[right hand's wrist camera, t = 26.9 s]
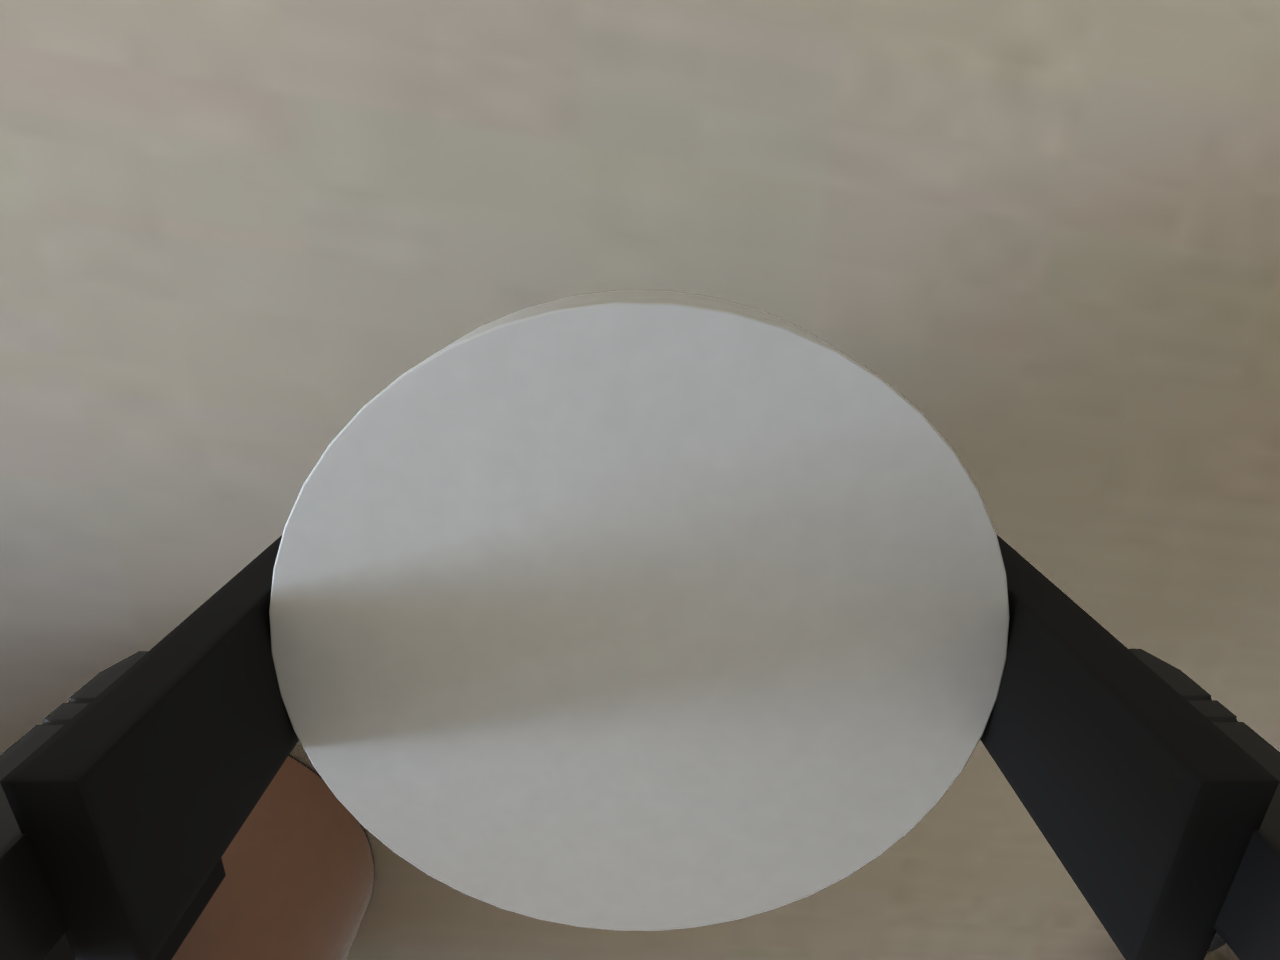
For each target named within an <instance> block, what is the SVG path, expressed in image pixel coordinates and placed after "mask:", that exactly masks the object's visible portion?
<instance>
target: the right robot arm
mask: <svg viewBox="0 0 1280 960" xmlns="http://www.w3.org/2000/svg"><path fill="white" fill-rule="evenodd" d="M281 538H282V536H281V537H279V538H278V539H277V540H276V541H275V542H274V543H273V544H271V545H270V546H269V547H268V548H267V549H266V550H265V551H263V552H262V553H261V554H260V555H259V556H258V557H257V558H255V559H254V560H253V561H252V562H251V563H250V564H248V565H247V566H246V567H245V568H244V569H243V570H242V571H240V572H239V573H238V574H237V575H236V576H235V577H234V578H232V579H231V580H230V581H229V582H228V583H227V584H226V585H224V586H223V587H222V588H221V589H220V590H219V591H218V592H216V593H215V594H214V595H213V596H212V597H211V598H209V599H208V600H207V601H206V602H205V603H204V604H203V605H201V606H200V607H199V608H198V609H197V610H196V611H195V612H193V613H192V614H191V615H190V616H189V617H188V618H187V619H185V620H184V621H183V622H182V623H181V624H180V625H179V626H177V627H176V628H175V629H174V630H173V631H172V632H171V633H169V634H168V635H167V636H166V637H165V638H164V639H162V640H161V641H160V642H159V643H158V644H157V645H156V646H154V647H153V648H152V649H151V650H150V651H139V652H137V653H136V654H134V655H132V656H130V657H128V658H126V659H124V660H123V661H121V662H119V663H117V664H115V665H113V666H112V667H110V668H108V669H106V670H104V671H102V672H100V673H99V674H98V675H97V676H95V677H94V678H93V679H92V680H91V681H89V682H88V683H87V684H86V685H85V686H83V687H82V688H81V689H80V690H79V691H77V692H76V693H75V694H74V695H73V696H71V697H70V698H69V699H70V700H69V703H63V704H62V705H61V706H59V707H58V708H57V709H56V710H55V711H53V712H52V713H51V714H50V715H49V716H47V717H46V718H45V719H44V723H43V725H37V726H35V727H34V728H33V729H32V730H31V731H29V732H28V733H27V734H26V735H25V736H23V737H22V738H21V739H20V740H19V741H17V742H16V743H15V744H14V745H13V746H11V747H10V748H9V749H8V750H7V751H5V752H4V753H3V754H2V755H1V756H0V960H43V959H44V958H45V957H46V956H47V954H48V953H49V952H50V951H51V949H52V948H53V947H54V946H55V944H56V943H57V942H58V941H59V940H60V938H61V937H62V936H63V935H64V934H65V936H66V939H67V941H68V943H69V946H70V948H71V950H72V953H73V955H74V957H75V960H154V959H155V957H156V956H157V954H158V953H159V951H160V950H161V948H162V946H163V945H164V943H165V942H166V940H167V939H168V937H169V936H170V934H171V933H172V931H173V930H174V928H175V927H176V925H177V924H178V922H179V921H180V919H181V918H182V916H183V915H184V913H185V912H186V910H187V909H188V907H189V906H190V904H191V903H192V901H193V899H194V898H195V896H196V895H197V893H198V892H199V890H200V889H201V887H202V886H203V884H204V883H205V881H206V880H207V878H208V877H209V875H210V874H211V872H212V871H213V869H214V868H215V866H216V865H217V863H218V862H219V860H220V859H221V857H222V856H223V854H224V853H225V851H226V849H227V848H228V846H229V845H230V843H231V842H232V840H233V839H234V837H235V836H236V834H237V833H238V831H239V830H240V828H241V827H242V825H243V824H244V822H245V821H246V819H247V818H248V816H249V815H250V813H251V812H252V810H253V809H254V807H255V806H256V804H257V802H258V801H259V799H260V798H261V796H262V795H263V793H264V792H265V790H266V789H267V787H268V786H269V784H270V783H271V781H272V780H273V778H274V777H275V775H276V774H277V772H278V771H279V769H280V768H281V766H282V765H283V763H284V762H285V760H286V759H287V757H288V755H289V754H290V752H291V751H292V749H293V748H294V746H295V745H296V743H297V742H298V740H299V739H298V737H297V735H296V733H295V731H294V729H293V726H292V723H291V721H290V718H289V715H288V713H287V710H286V707H285V705H284V702H283V699H282V697H281V693H280V688H279V684H278V679H277V675H276V670H275V666H274V661H273V657H272V651H271V634H270V617H269V609H270V599H271V589H272V579H273V569H274V565H275V561H276V557H277V553H278V550H279V546H280V542H281ZM997 538H998V542H999V546H1000V551H1001V555H1002V559H1003V563H1004V567H1005V571H1006V578H1007V591H1008V604H1009V617H1010V618H1009V631H1008V643H1007V656H1006V661H1005V666H1004V670H1003V675H1002V679H1001V683H1000V687H999V692H998V696H997V699H996V702H995V704H994V707H993V709H992V712H991V714H990V717H989V720H988V722H987V725H986V727H985V730H984V732H983V735H982V737H981V738H980V740H981V741H982V743H983V744H984V746H985V747H986V749H987V750H988V752H989V753H990V755H991V756H992V758H993V759H994V761H995V762H996V764H997V765H998V767H999V768H1000V770H1001V771H1002V773H1003V774H1004V776H1005V777H1006V779H1007V780H1008V782H1009V783H1010V785H1011V787H1012V788H1013V790H1014V791H1015V793H1016V794H1017V796H1018V797H1019V799H1020V800H1021V802H1022V803H1023V805H1024V806H1025V808H1026V809H1027V811H1028V812H1029V814H1030V815H1031V817H1032V818H1033V820H1034V821H1035V823H1036V824H1037V826H1038V827H1039V829H1040V830H1041V832H1042V834H1043V835H1044V837H1045V838H1046V840H1047V841H1048V843H1049V844H1050V846H1051V847H1052V849H1053V850H1054V852H1055V853H1056V855H1057V856H1058V858H1059V859H1060V861H1061V862H1062V864H1063V865H1064V867H1065V868H1066V870H1067V871H1068V873H1069V874H1070V876H1071V877H1072V879H1073V881H1074V882H1075V884H1076V885H1077V887H1078V888H1079V890H1080V891H1081V893H1082V894H1083V896H1084V897H1085V899H1086V900H1087V902H1088V903H1089V905H1090V906H1091V908H1092V909H1093V911H1094V912H1095V914H1096V915H1097V917H1098V918H1099V920H1100V921H1101V923H1102V924H1103V926H1104V928H1105V929H1106V931H1107V932H1108V934H1109V935H1110V937H1111V938H1112V940H1113V941H1114V943H1115V944H1116V946H1117V947H1118V949H1119V950H1120V952H1121V953H1122V955H1123V956H1124V958H1125V959H1126V960H1204V958H1205V956H1206V953H1207V951H1208V949H1209V946H1210V944H1211V942H1212V939H1213V937H1214V935H1215V932H1216V931H1217V932H1218V934H1219V935H1220V936H1221V937H1222V939H1223V940H1224V941H1225V942H1226V944H1227V945H1228V946H1229V947H1230V948H1231V950H1232V951H1233V952H1234V953H1235V955H1236V956H1237V957H1238V958H1239V960H1280V752H1279V751H1277V750H1276V749H1275V748H1274V747H1273V746H1271V745H1270V744H1269V743H1268V742H1267V741H1265V740H1264V739H1263V738H1262V737H1260V736H1259V735H1258V734H1257V733H1256V732H1254V731H1253V730H1252V729H1251V728H1250V727H1248V726H1247V725H1246V724H1245V723H1244V722H1238V721H1237V719H1236V716H1235V715H1234V714H1233V713H1231V712H1230V711H1229V710H1228V709H1227V708H1225V707H1224V706H1223V705H1222V704H1221V703H1219V702H1218V701H1212V700H1211V695H1210V694H1208V693H1207V692H1206V691H1205V690H1204V689H1202V688H1201V687H1200V686H1199V685H1198V684H1196V683H1195V682H1194V681H1193V680H1192V679H1190V678H1189V677H1188V676H1187V675H1185V674H1184V673H1183V672H1182V671H1181V670H1179V669H1177V668H1175V667H1173V666H1171V665H1170V664H1168V663H1166V662H1164V661H1162V660H1160V659H1158V658H1157V657H1155V656H1153V655H1151V654H1149V653H1147V652H1145V651H1144V650H1142V649H1127V648H1126V647H1125V646H1124V645H1123V644H1122V643H1120V642H1119V641H1118V640H1117V639H1116V638H1115V637H1114V636H1112V635H1111V634H1110V633H1109V632H1108V631H1107V630H1106V629H1104V628H1103V627H1102V626H1101V625H1100V624H1099V623H1098V622H1096V621H1095V620H1094V619H1093V618H1092V617H1091V616H1089V615H1088V614H1087V613H1086V612H1085V611H1084V610H1083V609H1081V608H1080V607H1079V606H1078V605H1077V604H1076V603H1075V602H1073V601H1072V600H1071V599H1070V598H1069V597H1068V596H1067V595H1065V594H1064V593H1063V592H1062V591H1061V590H1060V589H1059V588H1057V587H1056V586H1055V585H1054V584H1053V583H1052V582H1051V581H1049V580H1048V579H1047V578H1046V577H1045V576H1044V575H1042V574H1041V573H1040V572H1039V571H1038V570H1037V569H1036V568H1034V567H1033V566H1032V565H1031V564H1030V563H1029V562H1028V561H1026V560H1025V559H1024V558H1023V557H1022V556H1021V555H1020V554H1018V553H1017V552H1016V551H1015V550H1014V549H1013V548H1012V547H1010V546H1009V545H1008V544H1007V543H1006V542H1005V541H1004V540H1002V539H1001V538H1000V537H999V536H998V535H997Z"/></svg>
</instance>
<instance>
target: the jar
mask: <svg viewBox="0 0 1280 960" xmlns="http://www.w3.org/2000/svg"><path fill="white" fill-rule="evenodd" d="M221 858H222V862H223V866H224V870H225V874H226V876H225V878H224V879H223V881H222V882H221V884H220V885H219V887H218V888H217V890H216V891H215V893H214V895H213V896H212V898H211V899H210V901H209V902H208V904H207V905H206V907H205V909H204V910H203V912H202V913H201V915H200V916H199V918H198V919H197V921H196V922H195V924H194V926H193V927H192V929H191V930H190V932H189V933H188V935H187V936H186V938H185V939H184V941H183V943H182V944H181V946H180V947H179V949H178V950H177V952H176V953H175V955H174V957H173V958H172V960H346V958H347V956H348V953H349V951H350V948H351V946H352V944H353V941H354V939H355V936H356V934H357V931H358V929H359V926H360V924H361V922H362V919H363V917H364V914H365V912H366V909H367V907H368V904H369V901H370V898H371V896H372V890H373V884H374V863H373V858H372V853H371V848H370V845H369V843H368V840H367V837H366V835H365V832H364V830H363V828H362V827H361V825H360V823H359V821H358V820H357V819H356V818H355V817H354V816H353V815H352V814H351V813H350V812H349V811H348V810H347V809H346V807H345V806H344V805H343V804H342V803H341V802H340V801H339V800H338V799H337V798H336V796H335V795H334V794H333V792H332V791H331V790H330V788H329V787H328V785H327V784H326V783H325V781H324V780H323V779H321V778H320V777H319V776H318V775H317V774H315V773H314V772H313V771H312V770H310V769H309V768H307V767H306V766H304V765H303V764H301V763H300V762H298V761H297V760H295V759H294V758H292V757H290V756H288V757H287V759H286V760H285V762H284V763H283V765H282V766H281V768H280V769H279V771H278V772H277V774H276V775H275V777H274V778H273V780H272V781H271V783H270V784H269V786H268V787H267V789H266V790H265V792H264V793H263V795H262V796H261V798H260V799H259V801H258V802H257V804H256V806H255V807H254V809H253V810H252V812H251V813H250V815H249V816H248V818H247V819H246V821H245V822H244V824H243V825H242V827H241V828H240V830H239V831H238V833H237V834H236V836H235V837H234V839H233V840H232V842H231V843H230V845H229V846H228V848H227V849H226V851H225V853H224V854H223V856H222V857H221Z"/></svg>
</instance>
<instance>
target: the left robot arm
mask: <svg viewBox="0 0 1280 960" xmlns="http://www.w3.org/2000/svg"><path fill="white" fill-rule="evenodd" d="M225 876H226V874H225V870H224V866H223V862H222V858H221V859H220V860H219V862H218V863H217V865H216V866H215V868H214V869H213V871H212V872H211V874H210V875H209V877H208V878H207V880H206V881H205V883H204V884H203V886H202V887H201V889H200V890H199V892H198V893H197V895H196V896H195V898H194V899H193V901H192V903H191V904H190V906H189V907H188V909H187V910H186V912H185V913H184V915H183V916H182V918H181V919H180V921H179V922H178V924H177V925H176V927H175V928H174V930H173V931H172V933H171V934H170V936H169V937H168V939H167V940H166V942H165V943H164V945H163V946H162V948H161V950H160V951H159V953H158V954H157V956H156V957H155V959H154V960H172V958H173V957H174V955H175V953H176V952H177V950H178V949H179V947H180V946H181V944H182V943H183V941H184V939H185V938H186V936H187V935H188V933H189V932H190V930H191V929H192V927H193V926H194V924H195V922H196V921H197V919H198V918H199V916H200V915H201V913H202V912H203V910H204V909H205V907H206V905H207V904H208V902H209V901H210V899H211V898H212V896H213V895H214V893H215V891H216V890H217V888H218V887H219V885H220V884H221V882H222V881H223V879H224V878H225ZM43 960H75V957H74V955H73V953H72V950H71V948H70V946H69V943H68V941H67V939H66V936H65V934H64V935H63V936H62V937H61V938H60V940H59V941H58V942H57V943H56V944H55V946H54V947H53V948H52V949H51V951H50V952H49V953H48V954H47V956H46V957H45V958H44V959H43Z"/></svg>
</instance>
